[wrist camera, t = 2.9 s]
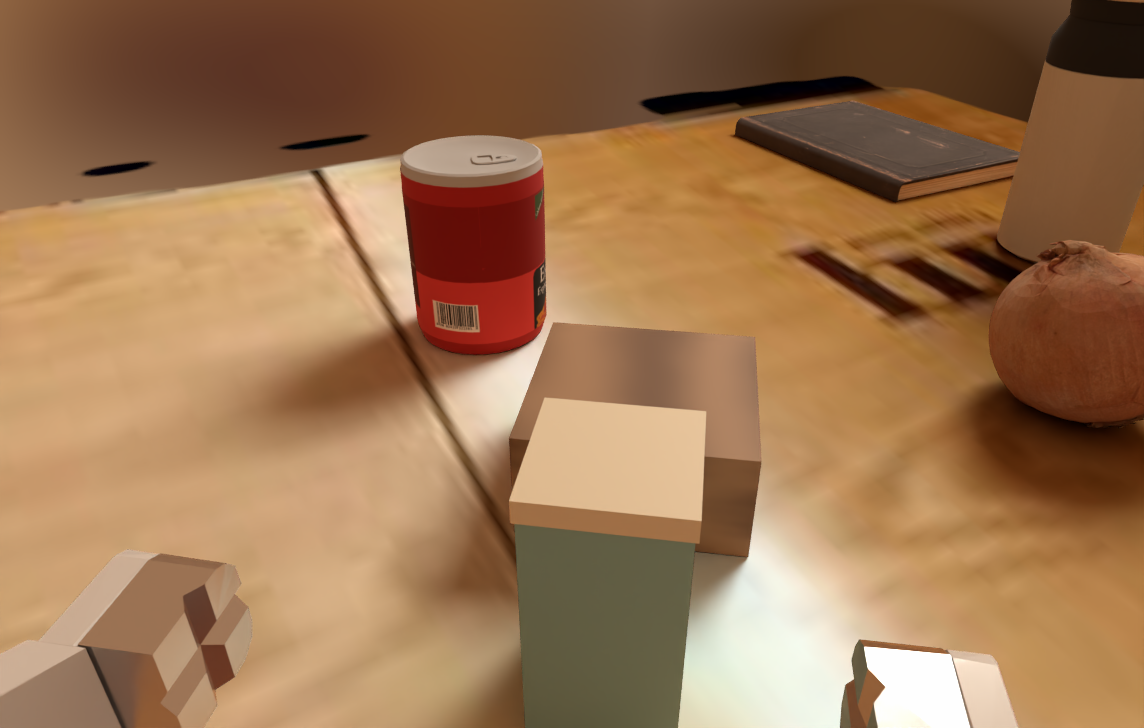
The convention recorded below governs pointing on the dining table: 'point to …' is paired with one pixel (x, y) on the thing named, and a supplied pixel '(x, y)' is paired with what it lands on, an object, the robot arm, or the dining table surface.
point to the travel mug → (1082, 135)
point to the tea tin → (606, 561)
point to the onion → (1074, 335)
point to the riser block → (665, 406)
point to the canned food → (476, 241)
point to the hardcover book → (879, 149)
